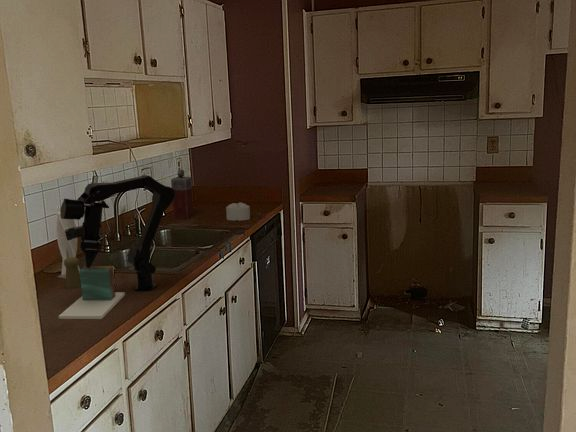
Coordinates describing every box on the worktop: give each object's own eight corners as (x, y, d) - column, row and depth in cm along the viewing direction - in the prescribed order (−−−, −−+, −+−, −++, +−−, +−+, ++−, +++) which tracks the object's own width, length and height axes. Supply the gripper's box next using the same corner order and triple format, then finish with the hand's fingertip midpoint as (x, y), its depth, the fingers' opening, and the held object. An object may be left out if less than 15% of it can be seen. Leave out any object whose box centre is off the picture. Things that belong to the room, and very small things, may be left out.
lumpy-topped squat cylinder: (231, 216, 332) (231, 201, 330) (252, 217, 328) (252, 202, 326) (224, 220, 322) (224, 205, 320) (246, 221, 318) (245, 205, 316)
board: (86, 295, 204) (86, 292, 204) (124, 295, 203) (124, 292, 203) (58, 318, 183) (58, 315, 182) (101, 318, 182) (101, 316, 182)
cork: (84, 283, 217) (81, 255, 215) (79, 288, 212) (76, 259, 209) (68, 283, 217) (65, 255, 215) (63, 288, 211) (59, 260, 209)
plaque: (87, 296, 200) (84, 266, 198) (115, 296, 199) (112, 266, 197) (82, 300, 196) (79, 269, 194) (111, 300, 195) (108, 269, 193)
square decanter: (176, 215, 336) (173, 168, 330) (193, 216, 334) (191, 168, 328) (169, 218, 328) (166, 170, 322) (187, 219, 325) (184, 170, 319)
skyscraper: (55, 276, 226) (47, 207, 220) (71, 271, 233) (64, 203, 227) (70, 279, 222) (62, 209, 216) (86, 273, 229) (79, 205, 223)
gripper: (68, 214, 201) (64, 257, 203) (66, 222, 184) (61, 269, 185) (101, 217, 205) (97, 259, 206) (102, 225, 187) (97, 271, 189)
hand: (88, 264), depth 197 cm, fingers open, 9 cm apart
